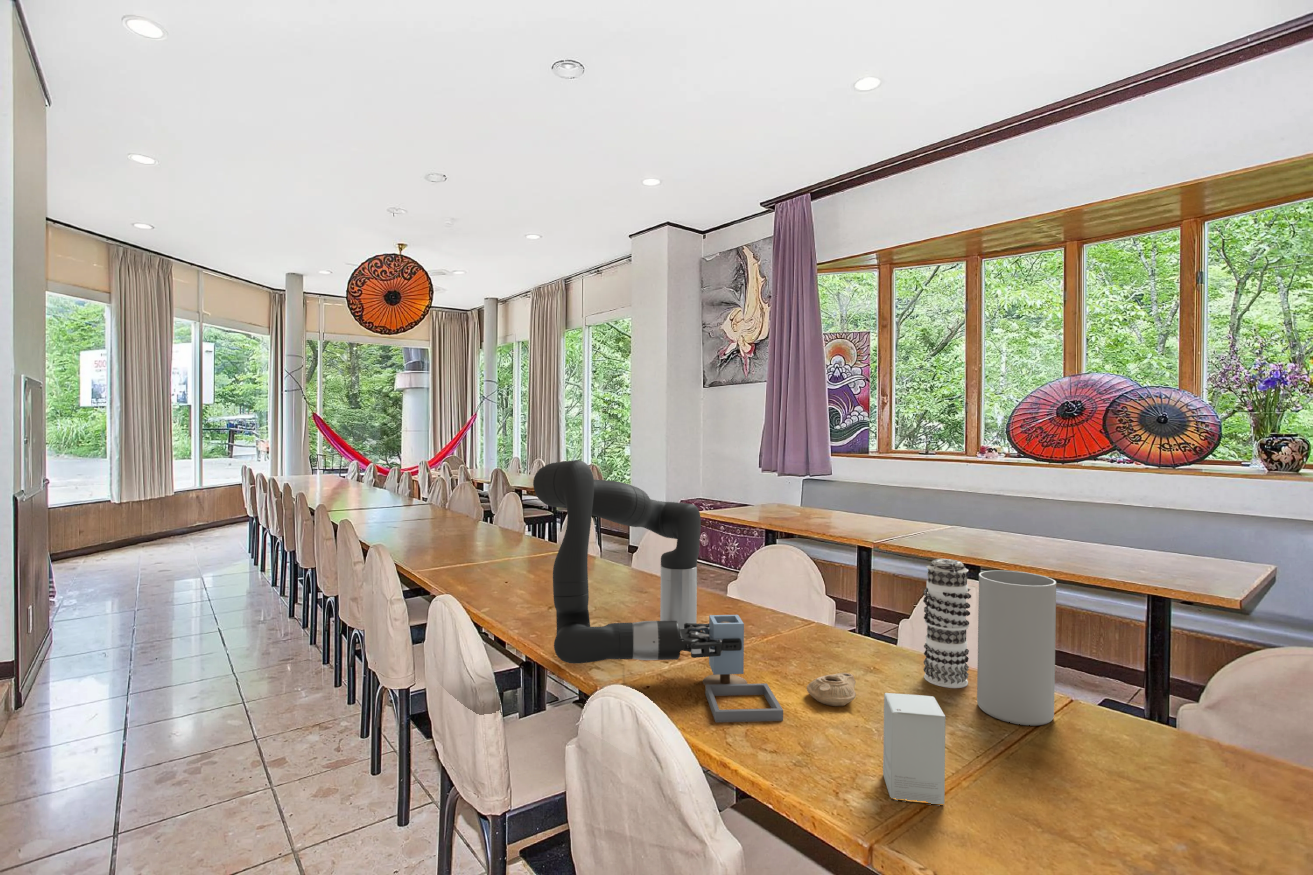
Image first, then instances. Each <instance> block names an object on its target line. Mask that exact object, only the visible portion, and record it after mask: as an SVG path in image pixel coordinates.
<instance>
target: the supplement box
mask: <svg viewBox="0 0 1313 875" xmlns="http://www.w3.org/2000/svg"><path fill="white" fill-rule="evenodd" d="M883 697H884V698H883V755H882V756H883V759H882V760H883V761H882V765H883V766H882V775H883V779H884V782H885V784H886V785H885V786H886V789H887V791H888V795H889V798H890V797H891V798H896V799H904V800H905V799H907V800H917V801H926V802H928V803H931V804H944V805H945V792H946V789H945V788H946V787H945V784H946V782H945V781H946V779H945V778H946V715H945V713H944V712H943V710H942V708H941V707H940V705H939V703H938V701H937V699H936V698H935V696H931V695H923V694H922V695H921V694H920V695H919V694H911V693H910V694H908V693H894V692H893V693H891V692H885V693H884V694H883ZM931 804H930V805H931Z"/></svg>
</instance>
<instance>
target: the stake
mask: <svg viewBox="0 0 1313 875" xmlns="http://www.w3.org/2000/svg"><path fill="white" fill-rule="evenodd" d="M721 623H730V622H721ZM713 684H748V681H747V680H746V679H745V678H743V677H741V676H739V675H737V674H718V675H714V674H713V673H712V674H710V675H707V676H705V677H704V678H703V679H702V685H704V686H705V687H706V685H713Z"/></svg>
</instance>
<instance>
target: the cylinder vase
mask: <svg viewBox="0 0 1313 875" xmlns="http://www.w3.org/2000/svg"><path fill="white" fill-rule="evenodd" d="M977 606H978V612H977V615H978V616H977V621H978V623H977V676H976V677H977V678H976V680H977V682H976V687H977V688H976V690H977V691H976V701H977V702H976V703H977V706H978V707H979V709H980V710H982V711H983V712H984V713H986V714H987V715H989V716H990V717H992V718H994V719H998V720H1000V721H1003V722H1005V723H1009V722H1010V724H1015V725H1019V724H1020V725H1021V726H1029V725H1030V726H1043V725H1047V724H1049V723H1050V722H1052V720H1053V719H1054V717H1055V684H1056V683H1055V681H1056V680H1055V679H1056V675H1055V674H1056V673H1055V672H1056V622H1057V621H1056V615H1057V614H1056V612H1057V609H1056V608H1057V581H1056V580H1055V579H1053V578H1050V577H1048V576H1045V575H1041V574H1035V573H1030V572H1023V571H1013V570H985V571H981V572H979V573H978V605H977ZM1030 726H1029V727H1030Z"/></svg>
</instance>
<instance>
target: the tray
mask: <svg viewBox="0 0 1313 875" xmlns="http://www.w3.org/2000/svg"><path fill="white" fill-rule="evenodd" d="M704 693H705V697H706V699H707V702H708V705H709V708H710V710H711V714H712V717H713V719H714V722H715V723H741V722H742V723H743V722H745V723H746V722H781V721H782V722H784V709H783V707H782V706H781V704H780V703H779V701H778V699H777V697H776V695H775V694H774V693H773V691H772V690H771V687H770V686H769V685H768V683H747V684H713V685H706V686H705V692H704ZM759 695H761V696H764V697H765V700H766V701H767V704H768V705H769V706H770V708H743V709H742V708H741V709H740V708H738V709H736V708H735V709H733V708H732V709H720V708H719V705H718V702H717V700H716V698H715V696H719V697H720V696H723V697H725V696H759Z"/></svg>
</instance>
